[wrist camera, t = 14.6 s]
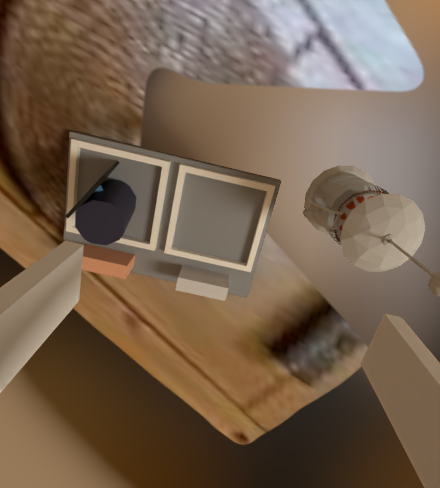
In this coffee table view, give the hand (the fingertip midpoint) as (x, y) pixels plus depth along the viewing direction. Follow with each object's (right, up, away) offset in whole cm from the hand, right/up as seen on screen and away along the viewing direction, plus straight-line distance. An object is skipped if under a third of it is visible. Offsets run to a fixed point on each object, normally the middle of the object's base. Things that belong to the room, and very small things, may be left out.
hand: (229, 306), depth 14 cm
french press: (+15, +9, +31) cm, 36 cm away
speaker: (-14, +9, +31) cm, 35 cm away
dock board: (-8, +6, +33) cm, 35 cm away
